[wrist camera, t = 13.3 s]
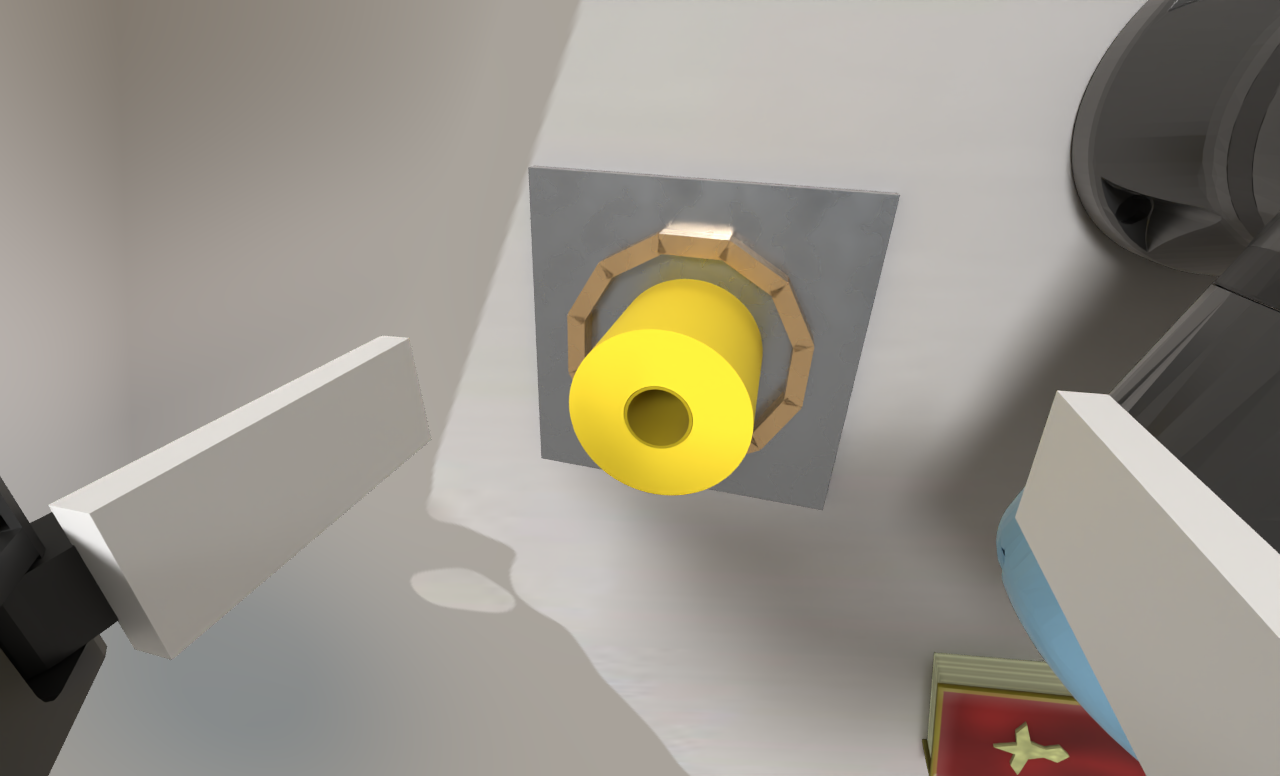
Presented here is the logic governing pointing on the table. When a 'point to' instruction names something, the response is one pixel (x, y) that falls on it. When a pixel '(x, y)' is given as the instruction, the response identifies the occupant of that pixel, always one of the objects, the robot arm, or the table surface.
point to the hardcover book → (1013, 723)
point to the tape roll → (671, 389)
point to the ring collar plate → (734, 260)
